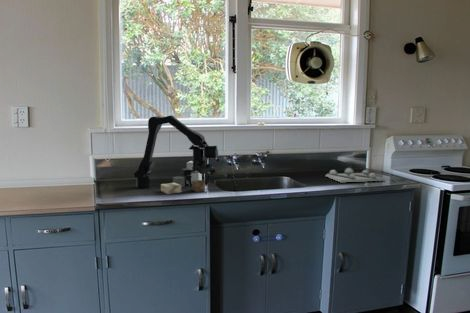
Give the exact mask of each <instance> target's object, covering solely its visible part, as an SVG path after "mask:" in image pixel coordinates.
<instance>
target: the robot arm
mask: <svg viewBox="0 0 470 313" xmlns="http://www.w3.org/2000/svg"><path fill="white" fill-rule="evenodd" d="M164 124H165V125H166V124H169V125H170V126H172V127H173V128H175V129H176V130H178V131H179V132H180V133H182V135H184V136H186V138H187V139H188V141H189V142H190V143H191V146H190V147H189V148H188V150H192V159H191V161H193V167H192V169H193V170H190V169H187V167H186V168H181V169H180V171H179V174H180V175H182V177H184V178H185V179H186V180H185V181H186V183H187V182H188V184H187V185H188V186H189V188H190V189H192V184H191V177H192V176H191V173H200V174H202V175H204V182H205V187H207V186H208V183H209V180H210V178H211V176H212V175H214V174H216V173H217V169H216V167H215V166H214V167H213V166H212V164H211V163H207V164H206V161H205V160H204V159H205V158H206V159H213V160H214V159H216V160H217V159H218V157H219V150H218V146H217V145H209V144H208V142H207V141H206V140H205V139H206V138H205V136H204V135H203V134H201V133H200V132H198V131H195V130H193V129H191V128H190V127H188V126H187V125H186V124H184V123H182V122H181V121H180V120H178V118H176V117H175V116H174V115H167V116H161V117H160V116H151V117H150V118H148V121H147V128H148V135H147V140H146V144H145V150H144V154H143V157H142V159H141V161H140V163H139V165H138V169H137V170H136V171H135V172H134V173H133V175H134V178H135V188H137V189H139V190H140V189H149V188H151V187H150V185H151V183H150V176H149V175H150V174H151V172H153V170H154V169H155V163H156V162H155V161H153V156H154V151H155V146H156V141H157V138H158V134H159V132H160V130H161V128H162V126H163V125H164ZM204 157H205V158H204Z"/></svg>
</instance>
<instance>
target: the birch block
mask: <svg viewBox="0 0 470 313" xmlns="http://www.w3.org/2000/svg"><path fill="white" fill-rule="evenodd" d="M160 191H161V192H162V193H164V194H167V195H171V194H177V193H179V194H180V193H182V187H181V185H180V184H177V183H173V182H170V183H169V182H168V183H161V184H160Z"/></svg>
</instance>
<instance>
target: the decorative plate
mask: <svg viewBox="0 0 470 313" xmlns="http://www.w3.org/2000/svg"><path fill="white" fill-rule="evenodd" d="M354 170H355V169H352V168H351V167H347V168H345V169H344V172H343V173H338V171H337V170H336V169H331V170H330V171H328V173H326V174H325V177H326V178H327V177H328V179H330V180H332V179H333V181H334V180H335V182H337V181H338V182H337V183H339V182H340V184H347V183H346V182H364V183H368V182H367V181H384V182H385V181H386V180H385V178H383V177H380V176H378V175H377V174H376V173H373V172H369V171H368V170H367V169H364V170H362V172H355V171H354Z"/></svg>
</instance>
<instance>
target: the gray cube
mask: <svg viewBox="0 0 470 313" xmlns="http://www.w3.org/2000/svg"><path fill="white" fill-rule="evenodd" d="M185 179H186V178H185V176H183V175H182V176H181V175H180V176H172V183H177V184H180V185H181V188H183V187H186V182H185V181H186V180H185Z"/></svg>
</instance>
